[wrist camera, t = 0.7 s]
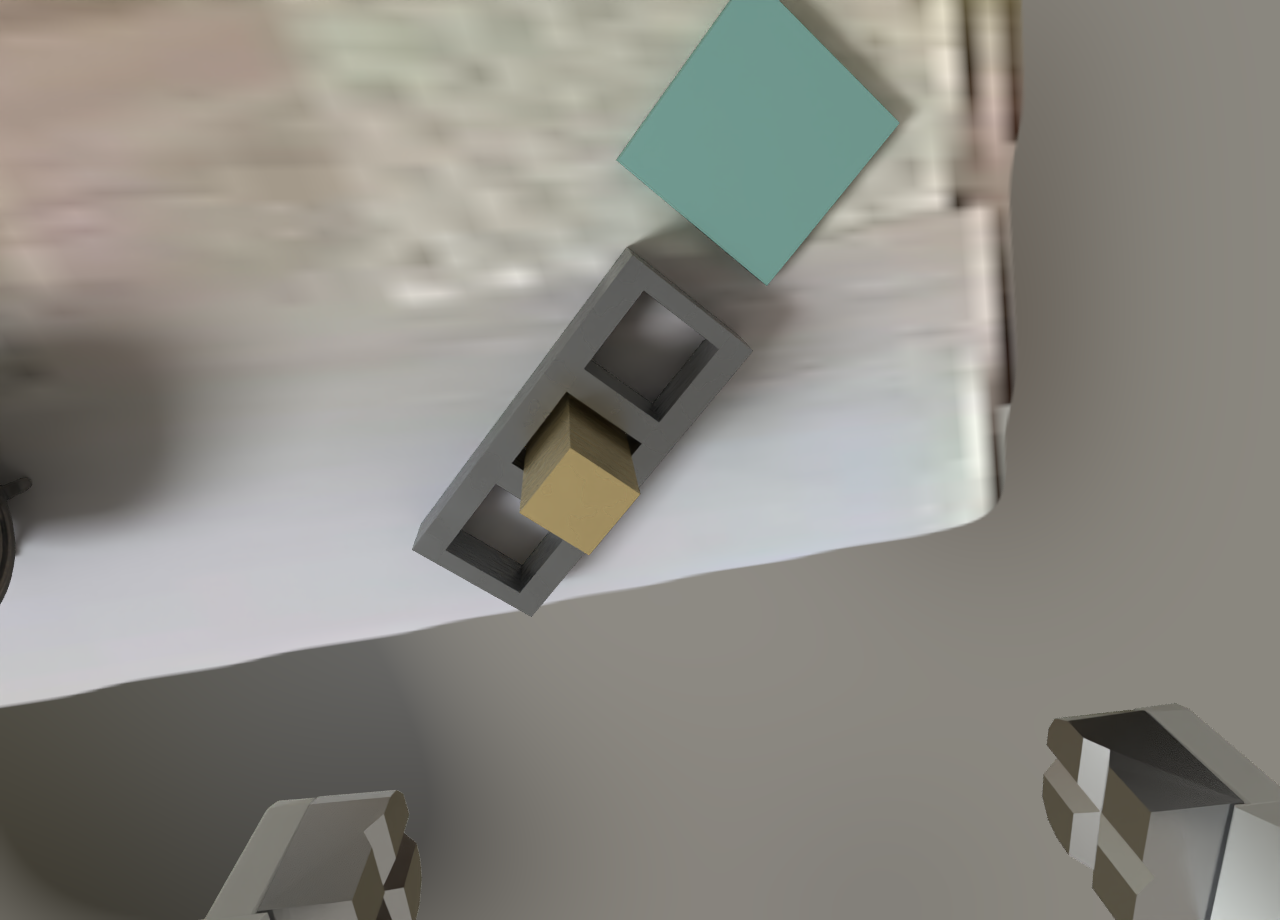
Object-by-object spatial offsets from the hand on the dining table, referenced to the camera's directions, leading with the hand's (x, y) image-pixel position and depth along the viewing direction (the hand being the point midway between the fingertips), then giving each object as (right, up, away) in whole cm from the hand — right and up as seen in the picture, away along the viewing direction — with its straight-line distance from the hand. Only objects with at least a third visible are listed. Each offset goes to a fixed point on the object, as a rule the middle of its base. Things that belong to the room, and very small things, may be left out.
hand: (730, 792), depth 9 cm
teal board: (+5, +20, +28) cm, 35 cm away
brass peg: (-5, +6, +33) cm, 34 cm away
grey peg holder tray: (-5, +6, +33) cm, 34 cm away
